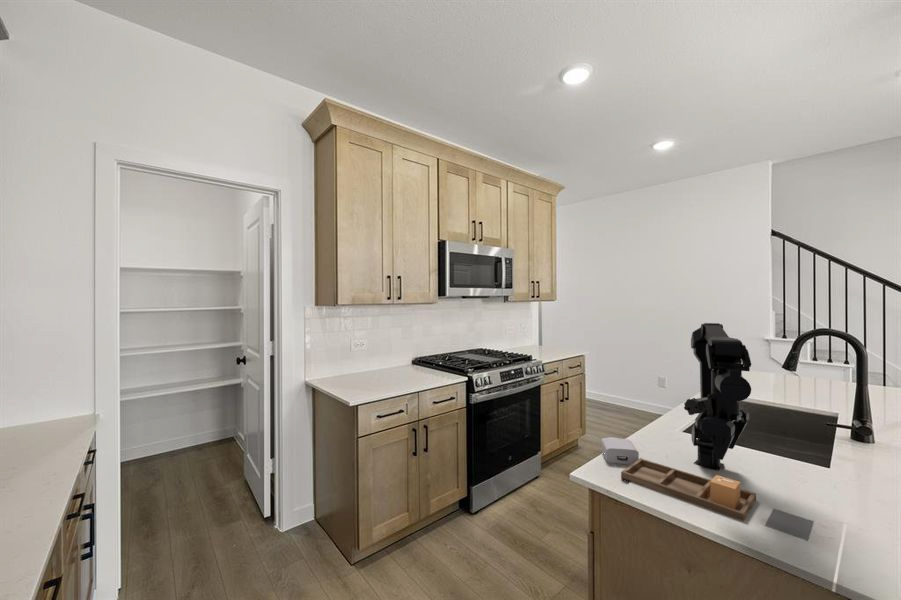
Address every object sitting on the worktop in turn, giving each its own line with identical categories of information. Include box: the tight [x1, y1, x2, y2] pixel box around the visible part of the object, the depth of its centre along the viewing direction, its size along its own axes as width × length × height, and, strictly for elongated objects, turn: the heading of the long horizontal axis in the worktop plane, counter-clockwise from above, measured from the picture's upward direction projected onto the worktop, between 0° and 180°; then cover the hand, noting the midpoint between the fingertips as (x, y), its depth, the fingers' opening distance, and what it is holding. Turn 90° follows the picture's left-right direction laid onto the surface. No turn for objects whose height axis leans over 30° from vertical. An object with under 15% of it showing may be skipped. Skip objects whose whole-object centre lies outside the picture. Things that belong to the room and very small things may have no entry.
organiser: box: [620, 458, 757, 522], centre depth 101 cm, size 13×28×2 cm, turn 41°
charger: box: [600, 437, 640, 465], centre depth 125 cm, size 5×9×15 cm
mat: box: [764, 508, 815, 542], centre depth 86 cm, size 10×7×1 cm
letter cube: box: [710, 474, 741, 509], centre depth 95 cm, size 5×5×5 cm
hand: (725, 453), depth 94 cm, fingers open, 9 cm apart
